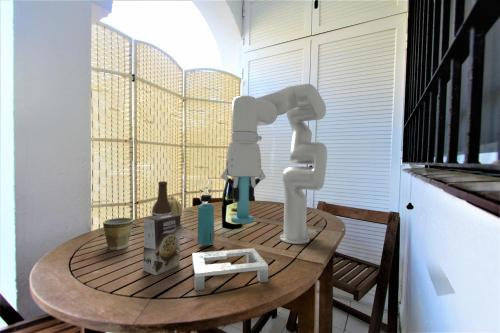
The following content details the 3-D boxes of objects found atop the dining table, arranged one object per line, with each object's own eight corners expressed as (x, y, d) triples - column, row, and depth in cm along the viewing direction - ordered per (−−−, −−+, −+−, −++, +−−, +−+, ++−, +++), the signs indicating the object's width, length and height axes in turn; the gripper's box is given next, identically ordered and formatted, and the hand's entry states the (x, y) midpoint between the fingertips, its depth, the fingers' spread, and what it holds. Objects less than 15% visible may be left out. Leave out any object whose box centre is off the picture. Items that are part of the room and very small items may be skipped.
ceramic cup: (137, 246, 93) (137, 220, 93) (108, 253, 86) (108, 225, 86) (124, 239, 102) (124, 215, 102) (96, 244, 95) (96, 219, 95)
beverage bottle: (210, 250, 92) (211, 196, 91) (194, 248, 93) (195, 195, 93) (216, 244, 98) (217, 194, 98) (201, 242, 99) (201, 193, 99)
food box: (156, 276, 70) (156, 220, 70) (142, 270, 74) (143, 217, 73) (180, 265, 78) (181, 214, 78) (167, 260, 82) (167, 212, 81)
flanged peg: (250, 217, 78) (251, 167, 77) (256, 223, 71) (258, 168, 71) (229, 218, 76) (230, 167, 75) (233, 224, 69) (235, 167, 69)
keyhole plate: (253, 261, 82) (253, 248, 82) (267, 281, 69) (268, 265, 69) (192, 267, 77) (192, 253, 76) (194, 290, 63) (195, 273, 63)
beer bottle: (148, 238, 103) (148, 181, 103) (161, 233, 110) (162, 180, 110) (162, 241, 100) (163, 182, 100) (175, 236, 107) (176, 181, 107)
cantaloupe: (153, 222, 129) (153, 194, 129) (182, 221, 133) (182, 193, 132) (148, 230, 115) (149, 198, 114) (181, 229, 118) (181, 198, 118)
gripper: (266, 141, 79) (265, 198, 79) (214, 138, 74) (213, 199, 75) (275, 139, 71) (273, 202, 72) (218, 136, 67) (217, 203, 67)
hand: (243, 200), depth 73 cm, fingers closed on flanged peg, 3 cm apart
